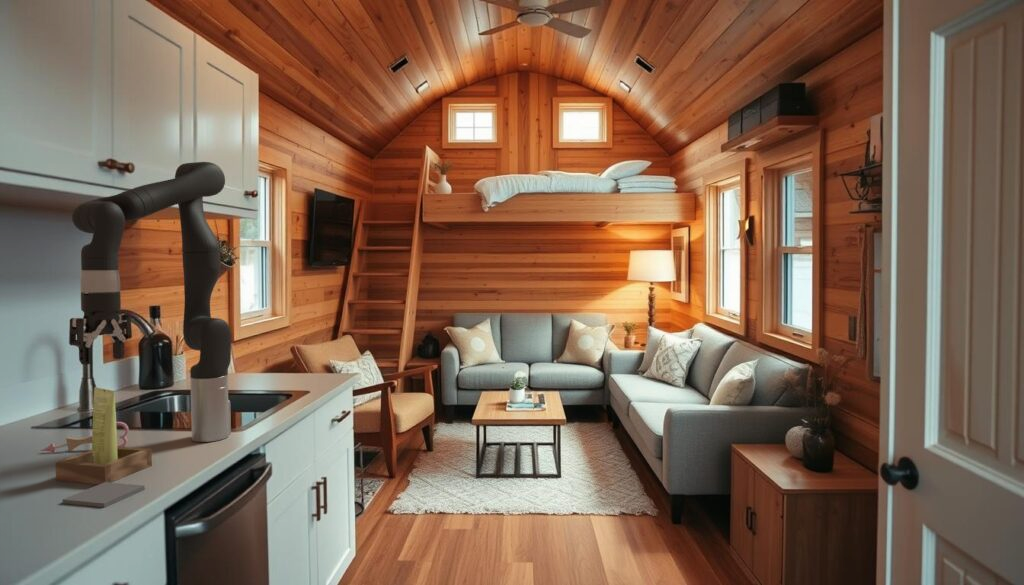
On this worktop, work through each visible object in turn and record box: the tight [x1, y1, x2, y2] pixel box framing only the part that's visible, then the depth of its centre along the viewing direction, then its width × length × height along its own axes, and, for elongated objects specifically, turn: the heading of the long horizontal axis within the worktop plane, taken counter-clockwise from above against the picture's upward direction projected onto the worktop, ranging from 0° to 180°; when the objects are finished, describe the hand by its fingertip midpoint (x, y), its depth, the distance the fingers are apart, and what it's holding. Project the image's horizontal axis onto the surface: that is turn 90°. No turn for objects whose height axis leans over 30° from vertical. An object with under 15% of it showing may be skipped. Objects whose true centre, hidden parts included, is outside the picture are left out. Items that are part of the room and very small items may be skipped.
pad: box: [61, 482, 145, 508], centre depth 127 cm, size 10×10×1 cm
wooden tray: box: [54, 446, 153, 485], centre depth 141 cm, size 13×13×4 cm
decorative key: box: [39, 421, 130, 453], centre depth 159 cm, size 7×1×20 cm
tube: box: [91, 386, 118, 464], centre depth 141 cm, size 6×5×20 cm
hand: (102, 361), depth 140 cm, fingers open, 8 cm apart
